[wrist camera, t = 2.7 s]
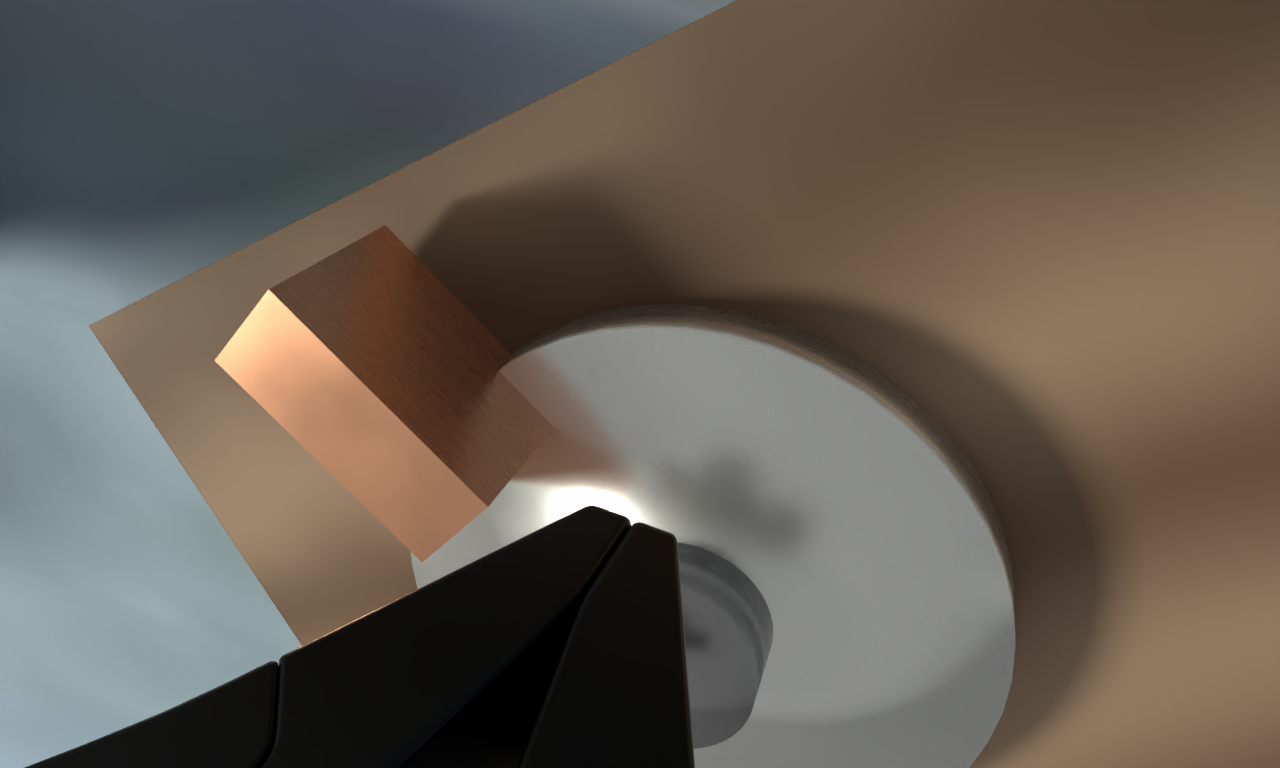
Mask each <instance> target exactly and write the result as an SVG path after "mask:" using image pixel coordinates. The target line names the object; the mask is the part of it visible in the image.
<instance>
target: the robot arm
mask: <svg viewBox="0 0 1280 768" xmlns="http://www.w3.org/2000/svg"><path fill="white" fill-rule="evenodd" d="M25 768H695V761H694V748H693V735H692V722H691V709H690V697H689V684H688V671H687V658H686V645H685V632H684V619H683V606H682V593H681V580H680V567H679V554H678V542H677V539H676V537H675V536H674V535H673V534H672V533H670V532H667V531H664V530H661V529H659V528H656V527H653V526H650V525H648V524H645V523H642V522H637V523H634V524H632V525H631V521H630V520H629V518H627V517H626V516H623V515H620V514H618V513H615V512H612V511H609V510H607V509H604V508H601V507H599V506H594V505H590V506H586V507H583V508H581V509H579V510H577V511H575V512H573V513H571V514H569V515H567V516H565V517H563V518H561V519H559V520H557V521H555V522H553V523H551V524H549V525H547V526H545V527H543V528H541V529H539V530H537V531H535V532H533V533H531V534H529V535H527V536H525V537H522V538H520V539H518V540H516V541H514V542H512V543H510V544H508V545H506V546H504V547H502V548H500V549H498V550H496V551H494V552H492V553H490V554H488V555H486V556H484V557H482V558H480V559H478V560H476V561H474V562H472V563H470V564H468V565H466V566H464V567H462V568H460V569H458V570H456V571H454V572H452V573H449V574H447V575H445V576H443V577H441V578H439V579H437V580H435V581H433V582H431V583H429V584H427V585H425V586H423V587H421V588H419V589H417V590H415V591H413V592H411V593H409V594H407V595H405V596H403V597H401V598H399V599H397V600H395V601H393V602H391V603H389V604H387V605H385V606H383V607H381V608H378V609H376V610H374V611H372V612H370V613H368V614H366V615H364V616H362V617H360V618H358V619H356V620H354V621H352V622H350V623H348V624H346V625H344V626H342V627H340V628H338V629H336V630H334V631H332V632H330V633H328V634H326V635H324V636H322V637H320V638H318V639H316V640H314V641H312V642H310V643H307V644H305V645H303V646H301V647H299V648H297V649H295V650H293V651H291V652H289V653H287V654H285V655H283V656H282V657H281V658H280V660H279V666H278V663H277V662H275V661H270V662H268V663H266V664H264V665H262V666H260V667H258V668H256V669H254V670H252V671H250V672H248V673H246V674H244V675H242V676H240V677H238V678H236V679H234V680H232V681H230V682H227V683H225V684H223V685H221V686H219V687H217V688H214V689H212V690H210V691H208V692H206V693H204V694H201V695H199V696H197V697H195V698H193V699H191V700H188V701H186V702H184V703H182V704H180V705H178V706H176V707H173V708H171V709H169V710H167V711H165V712H162V713H160V714H158V715H155V716H153V717H150V718H148V719H145V720H143V721H141V722H138V723H136V724H133V725H131V726H128V727H126V728H123V729H121V730H119V731H116V732H114V733H111V734H109V735H106V736H104V737H101V738H99V739H97V740H94V741H92V742H89V743H87V744H84V745H82V746H79V747H77V748H74V749H71V750H69V751H66V752H64V753H61V754H59V755H56V756H53V757H51V758H48V759H46V760H43V761H40V762H38V763H35V764H33V765H30V766H27V767H25Z"/></svg>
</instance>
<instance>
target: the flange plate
mask: <svg viewBox="0 0 1280 768" xmlns="http://www.w3.org/2000/svg"><path fill="white" fill-rule="evenodd" d="M215 362H216V363H217V364H219V365H220V366H221V367H222V368H223V369H224V370H225V371H226V372H227V373H228V374H229V375H230V376H231V377H232V378H233V379H234V380H235V381H236V382H237V383H238V384H239V385H240V386H241V387H242V388H243V389H244V390H245V391H246V392H247V393H248V394H249V395H250V396H251V397H252V398H253V399H255V400H256V401H257V402H258V403H259V404H260V405H261V406H262V407H263V408H264V409H265V410H266V411H267V412H268V413H269V414H270V415H271V416H272V417H273V418H274V419H275V420H276V421H277V422H278V423H279V424H280V425H281V426H282V427H283V428H284V429H285V430H286V431H287V432H288V433H289V434H290V435H292V436H293V437H294V438H295V439H296V440H297V441H298V442H299V443H300V444H301V445H302V446H303V447H304V448H305V449H306V450H307V451H308V452H309V453H310V454H311V455H312V456H313V457H314V458H315V459H316V460H317V461H318V462H319V463H320V464H321V465H322V466H323V467H324V468H325V469H326V470H327V471H329V472H330V473H331V474H332V475H333V476H334V477H335V478H336V479H337V480H338V481H339V482H340V483H341V484H342V485H343V486H344V487H345V488H346V489H347V490H348V491H349V492H350V493H351V494H352V495H353V496H354V497H355V498H356V499H357V500H358V501H359V502H360V503H361V504H362V505H363V506H364V507H366V508H367V509H368V510H369V511H370V512H371V513H372V514H373V515H374V516H375V517H376V518H377V519H378V520H379V521H380V522H381V523H382V524H383V525H384V526H385V527H386V528H387V529H388V530H389V531H390V532H391V533H392V534H393V535H394V536H395V537H396V538H397V539H398V540H399V541H400V542H401V543H403V544H404V545H405V546H406V547H407V548H408V549H409V550H410V551H411V559H412V566H413V571H414V575H415V579H416V584H417V588H418V589H419V588H421V587H423V586H425V585H427V584H429V583H431V582H433V581H435V580H437V579H439V578H441V577H443V576H445V575H447V574H449V573H452V572H454V571H456V570H458V569H460V568H462V567H464V566H466V565H468V564H470V563H472V562H474V561H476V560H478V559H480V558H482V557H484V556H486V555H488V554H490V553H492V552H494V551H496V550H498V549H500V548H502V547H504V546H506V545H508V544H510V543H512V542H514V541H516V540H518V539H520V538H522V537H525V536H527V535H529V534H531V533H533V532H535V531H537V530H539V529H541V528H543V527H545V526H547V525H549V524H551V523H553V522H555V521H557V520H559V519H561V518H563V517H565V516H567V515H569V514H571V513H573V512H575V511H577V510H579V509H581V508H583V507H586V506H590V505H594V506H599V507H601V508H604V509H607V510H609V511H612V512H615V513H618V514H620V515H623V516H626V517H627V518H629V520H630V521H631V525H632V524H634V523H637V522H642V523H645V524H648V525H650V526H653V527H656V528H659V529H661V530H664V531H667V532H670V533H672V534H673V535H674V536H675V537H676V539H677V542H678V554H679V567H680V580H681V593H682V606H683V619H684V632H685V645H686V658H687V671H688V684H689V697H690V709H691V722H692V735H693V748H694V761H695V768H969V767H970V766H971V765H972V763H973V762H974V761H975V759H976V758H977V757H978V755H979V754H980V753H981V751H982V750H983V749H984V747H985V746H986V745H987V743H988V742H989V740H990V738H991V736H992V734H993V732H994V730H995V728H996V726H997V724H998V722H999V720H1000V718H1001V716H1002V714H1003V711H1004V707H1005V704H1006V700H1007V697H1008V693H1009V690H1010V687H1011V683H1012V676H1013V666H1014V656H1015V599H1014V586H1013V574H1012V563H1011V559H1010V555H1009V551H1008V547H1007V543H1006V539H1005V535H1004V531H1003V527H1002V525H1001V522H1000V520H999V518H998V515H997V513H996V510H995V508H994V506H993V503H992V501H991V498H990V496H989V494H988V491H987V490H986V488H985V486H984V485H983V483H982V481H981V480H980V478H979V477H978V475H977V473H976V472H975V470H974V468H973V467H972V465H971V463H970V462H969V460H968V458H967V457H966V455H965V454H964V453H963V452H962V450H961V449H960V448H959V447H958V445H957V444H956V443H955V442H954V440H953V439H952V438H951V437H950V435H949V434H948V433H947V432H946V431H945V429H944V428H943V427H942V426H941V424H940V423H939V422H938V421H937V420H936V419H935V418H934V417H933V416H932V415H931V414H929V413H928V412H927V411H926V410H925V409H924V408H923V407H922V406H921V405H920V404H919V403H918V402H917V401H916V400H915V399H914V398H913V397H912V396H911V395H910V394H909V393H908V392H906V391H905V390H904V389H902V388H901V387H899V386H898V385H897V384H895V383H894V382H893V381H891V380H890V379H889V378H887V377H886V376H885V375H883V374H882V373H881V372H879V371H878V370H877V369H875V368H874V367H873V366H871V365H870V364H868V363H866V362H864V361H863V360H861V359H859V358H857V357H856V356H854V355H852V354H850V353H848V352H847V351H845V350H843V349H841V348H840V347H838V346H836V345H834V344H833V343H831V342H829V341H826V340H824V339H821V338H819V337H817V336H814V335H812V334H810V333H807V332H805V331H802V330H800V329H798V328H795V327H793V326H791V325H788V324H784V323H781V322H777V321H774V320H771V319H767V318H764V317H760V316H757V315H753V314H750V313H746V312H740V311H734V310H728V309H722V308H716V307H709V306H703V305H676V304H655V305H645V306H634V307H624V308H618V309H613V310H609V311H605V312H601V313H596V314H592V315H588V316H584V317H581V318H579V319H576V320H574V321H571V322H569V323H566V324H563V325H561V326H558V327H556V328H553V329H551V330H549V331H547V332H545V333H544V334H542V335H540V336H539V337H537V338H535V339H533V340H532V341H530V342H528V343H527V344H525V345H523V346H521V347H520V348H519V349H518V350H516V351H515V352H514V353H513V354H511V353H510V352H509V351H508V350H507V349H506V348H505V347H504V346H503V345H502V344H501V343H500V342H499V341H498V340H497V338H496V337H495V336H494V335H493V334H492V333H491V332H490V331H489V330H488V329H487V328H486V327H485V326H484V325H483V324H482V323H481V322H480V321H479V320H478V319H477V318H476V317H475V316H474V315H473V314H472V313H471V312H470V311H469V310H468V309H467V308H466V307H465V306H464V305H463V304H462V303H461V302H460V301H459V300H458V299H457V298H456V297H455V296H454V295H453V294H452V293H451V292H450V291H449V289H448V288H447V287H446V286H445V285H444V284H443V283H442V282H441V281H440V280H439V279H438V278H437V277H436V276H435V275H434V274H433V273H432V272H431V271H430V270H429V269H428V268H427V267H426V266H425V265H424V264H423V263H422V262H421V261H420V260H419V259H418V258H417V257H416V256H415V255H414V254H413V253H412V252H411V251H410V250H409V249H408V248H407V247H406V246H405V245H404V244H403V243H402V241H401V240H400V239H399V238H398V237H397V236H396V235H395V234H394V233H393V232H392V231H391V230H390V229H389V228H388V227H387V226H386V225H384V226H382V227H381V228H379V229H377V230H375V231H373V232H372V233H370V234H368V235H366V236H364V237H363V238H361V239H359V240H357V241H355V242H353V243H352V244H350V245H348V246H346V247H344V248H343V249H341V250H339V251H337V252H335V253H334V254H332V255H330V256H328V257H326V258H325V259H323V260H321V261H319V262H317V263H315V264H314V265H312V266H310V267H308V268H306V269H305V270H303V271H301V272H299V273H297V274H296V275H294V276H292V277H290V278H288V279H286V280H285V281H283V282H281V283H279V284H277V285H276V286H274V287H272V288H270V289H268V291H267V292H266V293H265V295H264V296H263V297H262V299H261V300H260V301H259V303H258V304H257V305H256V307H255V308H254V309H253V311H252V312H251V313H250V315H249V316H248V317H247V318H246V320H245V321H244V322H243V324H242V325H241V326H240V328H239V329H238V330H237V332H236V333H235V334H234V336H233V337H232V338H231V340H230V341H229V342H228V344H227V345H226V346H225V347H224V349H223V350H222V351H221V353H220V354H219V355H218V357H217V358H216V359H215Z"/></svg>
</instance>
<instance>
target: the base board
mask: <svg viewBox="0 0 1280 768" xmlns="http://www.w3.org/2000/svg"><path fill="white" fill-rule="evenodd" d="M384 225H386V226H387V227H388V228H389V229H390V230H391V231H392V232H393V233H394V234H395V235H396V236H397V237H398V238H399V239H400V240H401V241H402V243H403V244H404V245H405V246H406V247H407V248H408V249H409V250H410V251H411V252H412V253H413V254H414V255H415V256H416V257H417V258H418V259H419V260H420V261H421V262H422V263H423V264H424V265H425V266H426V267H427V268H428V269H429V270H430V271H431V272H432V273H433V274H434V275H435V276H436V277H437V278H438V279H439V280H440V281H441V282H442V283H443V284H444V285H445V286H446V287H447V288H448V289H449V291H450V292H451V293H452V294H453V295H454V296H455V297H456V298H457V299H458V300H459V301H460V302H461V303H462V304H463V305H464V306H465V307H466V308H467V309H468V310H469V311H470V312H471V313H472V314H473V315H474V316H475V317H476V318H477V319H478V320H479V321H480V322H481V323H482V324H483V325H484V326H485V327H486V328H487V329H488V330H489V331H490V332H491V333H492V334H493V335H494V336H495V337H496V338H497V340H498V341H499V342H500V343H501V344H502V345H503V346H504V347H505V348H506V349H507V350H508V351H509V352H510V353H511V354H513V353H514V352H515V351H516V350H518V349H519V348H520V347H521V346H523V345H525V344H527V343H528V342H530V341H532V340H533V339H535V338H537V337H539V336H540V335H542V334H544V333H545V332H547V331H549V330H551V329H553V328H556V327H558V326H561V325H563V324H566V323H569V322H571V321H574V320H576V319H579V318H581V317H584V316H588V315H592V314H596V313H601V312H605V311H609V310H613V309H618V308H624V307H634V306H645V305H655V304H676V305H703V306H709V307H716V308H722V309H728V310H734V311H740V312H746V313H750V314H753V315H757V316H760V317H764V318H767V319H771V320H774V321H777V322H781V323H784V324H788V325H791V326H793V327H795V328H798V329H800V330H802V331H805V332H807V333H810V334H812V335H814V336H817V337H819V338H821V339H824V340H826V341H829V342H831V343H833V344H834V345H836V346H838V347H840V348H841V349H843V350H845V351H847V352H848V353H850V354H852V355H854V356H856V357H857V358H859V359H861V360H863V361H864V362H866V363H868V364H870V365H871V366H873V367H874V368H875V369H877V370H878V371H879V372H881V373H882V374H883V375H885V376H886V377H887V378H889V379H890V380H891V381H893V382H894V383H895V384H897V385H898V386H899V387H901V388H902V389H904V390H905V391H906V392H908V393H909V394H910V395H911V396H912V397H913V398H914V399H915V400H916V401H917V402H918V403H919V404H920V405H921V406H922V407H923V408H924V409H925V410H926V411H927V412H928V413H929V414H931V415H932V416H933V417H934V418H935V419H936V420H937V421H938V422H939V423H940V424H941V426H942V427H943V428H944V429H945V431H946V432H947V433H948V434H949V435H950V437H951V438H952V439H953V440H954V442H955V443H956V444H957V445H958V447H959V448H960V449H961V450H962V452H963V453H964V454H965V455H966V457H967V458H968V460H969V462H970V463H971V465H972V467H973V468H974V470H975V472H976V473H977V475H978V477H979V478H980V480H981V481H982V483H983V485H984V486H985V488H986V490H987V491H988V494H989V496H990V498H991V501H992V503H993V506H994V508H995V510H996V513H997V515H998V518H999V520H1000V522H1001V525H1002V527H1003V531H1004V535H1005V539H1006V543H1007V547H1008V551H1009V555H1010V559H1011V563H1012V574H1013V586H1014V599H1015V656H1014V666H1013V676H1012V683H1011V687H1010V690H1009V693H1008V697H1007V700H1006V704H1005V707H1004V711H1003V714H1002V716H1001V718H1000V720H999V722H998V724H997V726H996V728H995V730H994V732H993V734H992V736H991V738H990V740H989V742H988V743H987V745H986V746H985V747H984V749H983V750H982V751H981V753H980V754H979V755H978V757H977V758H976V759H975V761H974V762H973V763H972V765H971V766H970V767H969V768H1280V0H737V1H735V2H733V3H731V4H729V5H727V6H725V7H723V8H721V9H719V10H717V11H715V12H713V13H711V14H709V15H707V16H705V17H703V18H701V19H699V20H697V21H695V22H693V23H691V24H689V25H687V26H685V27H683V28H681V29H679V30H677V31H675V32H673V33H671V34H669V35H667V36H665V37H663V38H661V39H659V40H657V41H655V42H653V43H651V44H649V45H647V46H645V47H643V48H641V49H639V50H637V51H635V52H633V53H631V54H629V55H627V56H625V57H623V58H621V59H619V60H617V61H615V62H613V63H611V64H609V65H607V66H605V67H603V68H601V69H599V70H597V71H595V72H593V73H591V74H589V75H587V76H585V77H583V78H581V79H579V80H577V81H575V82H573V83H571V84H569V85H567V86H565V87H563V88H561V89H559V90H557V91H555V92H553V93H551V94H549V95H547V96H545V97H543V98H542V99H540V100H538V101H536V102H534V103H532V104H530V105H528V106H526V107H524V108H522V109H520V110H518V111H516V112H514V113H512V114H510V115H508V116H506V117H504V118H502V119H500V120H498V121H496V122H494V123H492V124H490V125H488V126H486V127H484V128H482V129H480V130H478V131H476V132H474V133H472V134H470V135H468V136H466V137H464V138H462V139H460V140H458V141H456V142H454V143H452V144H450V145H448V146H446V147H444V148H442V149H440V150H438V151H436V152H434V153H432V154H430V155H428V156H426V157H424V158H422V159H420V160H418V161H416V162H414V163H412V164H410V165H408V166H406V167H404V168H402V169H400V170H398V171H396V172H394V173H392V174H390V175H388V176H386V177H384V178H382V179H380V180H378V181H376V182H374V183H372V184H370V185H368V186H366V187H364V188H362V189H360V190H358V191H356V192H354V193H352V194H350V195H348V196H346V197H344V198H342V199H340V200H338V201H336V202H334V203H332V204H330V205H328V206H326V207H324V208H322V209H320V210H318V211H316V212H314V213H312V214H310V215H308V216H306V217H304V218H302V219H300V220H298V221H296V222H294V223H292V224H290V225H288V226H286V227H284V228H282V229H280V230H278V231H276V232H274V233H272V234H270V235H268V236H266V237H264V238H262V239H260V240H258V241H256V242H254V243H252V244H250V245H248V246H246V247H244V248H242V249H240V250H238V251H236V252H234V253H232V254H230V255H228V256H226V257H224V258H222V259H220V260H218V261H216V262H214V263H212V264H210V265H208V266H206V267H204V268H202V269H200V270H198V271H196V272H194V273H192V274H190V275H188V276H186V277H184V278H182V279H180V280H178V281H176V282H174V283H172V284H170V285H168V286H166V287H164V288H163V289H161V290H159V291H157V292H155V293H153V294H151V295H149V296H147V297H145V298H143V299H141V300H139V301H137V302H135V303H133V304H131V305H129V306H127V307H125V308H123V309H121V310H119V311H117V312H115V313H113V314H111V315H109V316H107V317H105V318H103V319H101V320H99V321H97V322H95V323H93V324H91V325H89V327H90V329H91V330H92V332H93V333H94V334H95V336H96V337H97V339H98V340H99V342H100V343H101V345H102V346H103V348H104V349H105V351H106V352H107V354H108V355H109V357H110V358H111V360H112V361H113V363H114V364H115V366H116V367H117V369H118V370H119V372H120V373H121V375H122V376H123V378H124V379H125V381H126V382H127V384H128V385H129V387H130V388H131V390H132V391H133V393H134V394H135V396H136V397H137V399H138V400H139V402H140V403H141V405H142V406H143V408H144V409H145V411H146V412H147V414H148V415H149V417H150V418H151V420H152V421H153V423H154V424H155V426H156V427H157V429H158V430H159V432H160V433H161V435H162V436H163V438H164V439H165V441H166V442H167V444H168V445H169V447H170V448H171V450H172V451H173V453H174V454H175V456H176V457H177V459H178V460H179V462H180V463H181V465H182V466H183V468H184V469H185V471H186V472H187V474H188V475H189V477H190V478H191V480H192V481H193V483H194V484H195V486H196V487H197V489H198V490H199V492H200V493H201V495H202V496H203V498H204V499H205V501H206V502H207V504H208V505H209V507H210V508H211V510H212V511H213V513H214V514H215V516H216V517H217V519H218V520H219V522H220V523H221V525H222V526H223V528H224V529H225V531H226V532H227V534H228V535H229V537H230V538H231V540H232V541H233V543H234V544H235V546H236V547H237V549H238V550H239V552H240V553H241V555H242V556H243V558H244V559H245V561H246V562H247V564H248V565H249V567H250V568H251V570H252V571H253V573H254V574H255V576H256V577H257V579H258V580H259V582H260V583H261V585H262V586H263V588H264V589H265V591H266V592H267V594H268V595H269V597H270V598H271V600H272V601H273V603H274V604H275V606H276V607H277V609H278V610H279V612H280V613H281V615H282V616H283V618H284V619H285V621H286V622H287V624H288V625H289V627H290V628H291V630H292V631H293V633H294V634H295V636H296V637H297V639H298V640H299V642H300V643H301V645H302V646H303V645H305V644H307V643H310V642H312V641H314V640H316V639H318V638H320V637H322V636H324V635H326V634H328V633H330V632H332V631H334V630H336V629H338V628H340V627H342V626H344V625H346V624H348V623H350V622H352V621H354V620H356V619H358V618H360V617H362V616H364V615H366V614H368V613H370V612H372V611H374V610H376V609H378V608H381V607H383V606H385V605H387V604H389V603H391V602H393V601H395V600H397V599H399V598H401V597H403V596H405V595H406V594H409V593H411V592H413V591H415V590H417V589H418V588H417V584H416V579H415V575H414V571H413V566H412V559H411V551H410V550H409V549H408V548H407V547H406V546H405V545H404V544H403V543H401V542H400V541H399V540H398V539H397V538H396V537H395V536H394V535H393V534H392V533H391V532H390V531H389V530H388V529H387V528H386V527H385V526H384V525H383V524H382V523H381V522H380V521H379V520H378V519H377V518H376V517H375V516H374V515H373V514H372V513H371V512H370V511H369V510H368V509H367V508H366V507H364V506H363V505H362V504H361V503H360V502H359V501H358V500H357V499H356V498H355V497H354V496H353V495H352V494H351V493H350V492H349V491H348V490H347V489H346V488H345V487H344V486H343V485H342V484H341V483H340V482H339V481H338V480H337V479H336V478H335V477H334V476H333V475H332V474H331V473H330V472H329V471H327V470H326V469H325V468H324V467H323V466H322V465H321V464H320V463H319V462H318V461H317V460H316V459H315V458H314V457H313V456H312V455H311V454H310V453H309V452H308V451H307V450H306V449H305V448H304V447H303V446H302V445H301V444H300V443H299V442H298V441H297V440H296V439H295V438H294V437H293V436H292V435H290V434H289V433H288V432H287V431H286V430H285V429H284V428H283V427H282V426H281V425H280V424H279V423H278V422H277V421H276V420H275V419H274V418H273V417H272V416H271V415H270V414H269V413H268V412H267V411H266V410H265V409H264V408H263V407H262V406H261V405H260V404H259V403H258V402H257V401H256V400H255V399H253V398H252V397H251V396H250V395H249V394H248V393H247V392H246V391H245V390H244V389H243V388H242V387H241V386H240V385H239V384H238V383H237V382H236V381H235V380H234V379H233V378H232V377H231V376H230V375H229V374H228V373H227V372H226V371H225V370H224V369H223V368H222V367H221V366H220V365H219V364H217V363H216V362H215V359H216V358H217V357H218V355H219V354H220V353H221V351H222V350H223V349H224V347H225V346H226V345H227V344H228V342H229V341H230V340H231V338H232V337H233V336H234V334H235V333H236V332H237V330H238V329H239V328H240V326H241V325H242V324H243V322H244V321H245V320H246V318H247V317H248V316H249V315H250V313H251V312H252V311H253V309H254V308H255V307H256V305H257V304H258V303H259V301H260V300H261V299H262V297H263V296H264V295H265V293H266V292H267V291H268V289H270V288H272V287H274V286H276V285H277V284H279V283H281V282H283V281H285V280H286V279H288V278H290V277H292V276H294V275H296V274H297V273H299V272H301V271H303V270H305V269H306V268H308V267H310V266H312V265H314V264H315V263H317V262H319V261H321V260H323V259H325V258H326V257H328V256H330V255H332V254H334V253H335V252H337V251H339V250H341V249H343V248H344V247H346V246H348V245H350V244H352V243H353V242H355V241H357V240H359V239H361V238H363V237H364V236H366V235H368V234H370V233H372V232H373V231H375V230H377V229H379V228H381V227H382V226H384Z"/></svg>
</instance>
